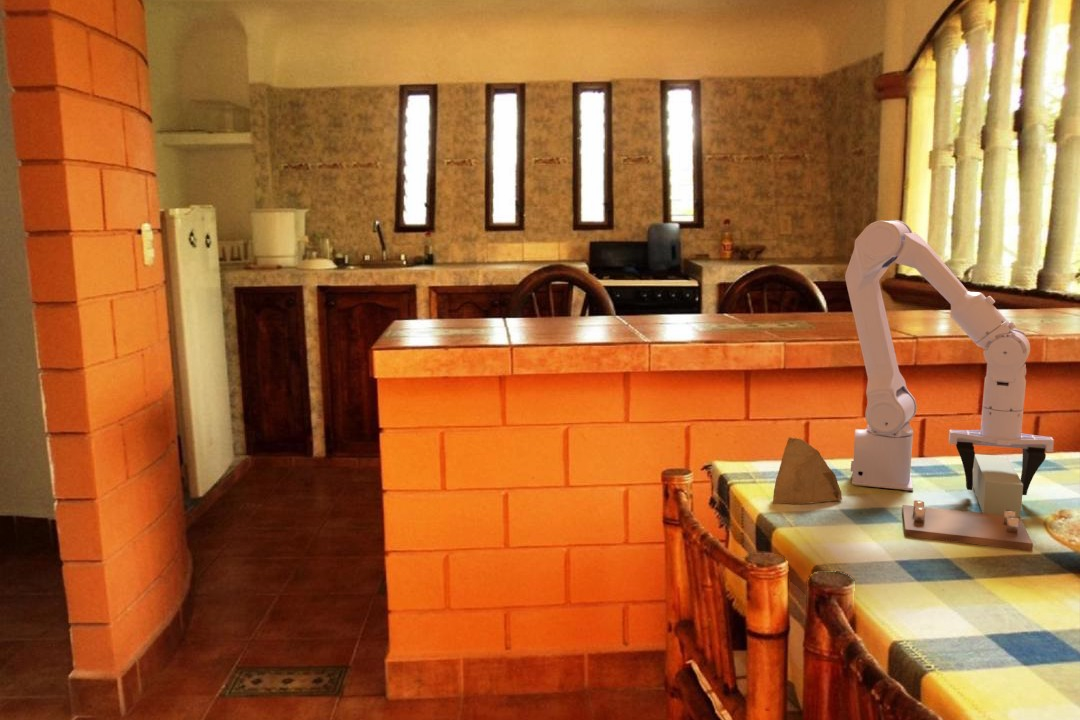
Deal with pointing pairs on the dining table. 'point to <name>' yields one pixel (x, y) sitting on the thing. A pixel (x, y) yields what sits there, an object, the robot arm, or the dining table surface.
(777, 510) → the dining table surface
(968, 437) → the robot arm
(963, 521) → the peg rack
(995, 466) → the off-white rectangular block
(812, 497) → the rock
